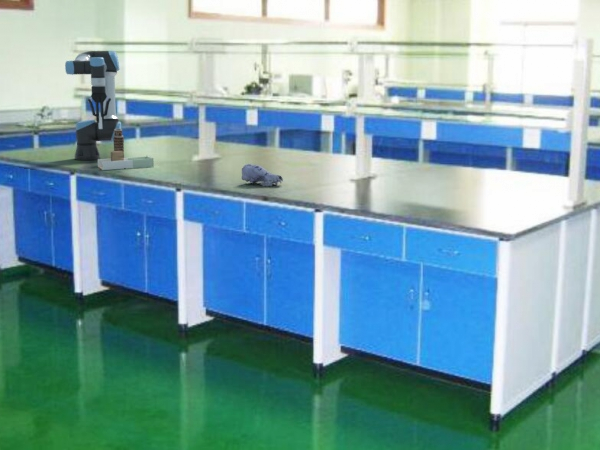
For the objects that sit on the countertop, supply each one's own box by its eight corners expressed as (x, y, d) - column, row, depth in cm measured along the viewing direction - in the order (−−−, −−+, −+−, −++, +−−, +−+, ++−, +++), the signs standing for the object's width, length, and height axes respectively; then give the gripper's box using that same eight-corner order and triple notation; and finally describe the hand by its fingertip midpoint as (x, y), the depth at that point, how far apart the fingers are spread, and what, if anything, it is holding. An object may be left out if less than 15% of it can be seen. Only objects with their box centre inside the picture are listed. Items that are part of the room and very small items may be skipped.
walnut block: (110, 161, 479) (110, 151, 478) (121, 161, 482) (120, 150, 480) (113, 163, 474) (112, 152, 473) (124, 162, 476) (123, 151, 475)
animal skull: (271, 192, 410) (271, 172, 406) (236, 185, 422) (235, 165, 418) (287, 185, 420) (287, 166, 417) (252, 179, 432) (252, 160, 429)
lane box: (98, 167, 480) (97, 158, 479) (148, 164, 492) (147, 155, 491) (102, 170, 469) (102, 161, 468) (153, 166, 481) (153, 157, 480)
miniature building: (111, 164, 490) (109, 130, 486) (108, 162, 500) (106, 128, 496) (129, 163, 494) (128, 129, 490) (126, 161, 504) (124, 127, 499)
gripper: (87, 86, 459) (90, 129, 464) (111, 85, 465) (113, 128, 469) (85, 85, 466) (87, 128, 471) (108, 85, 471) (110, 127, 476)
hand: (100, 128), depth 470 cm, fingers closed
